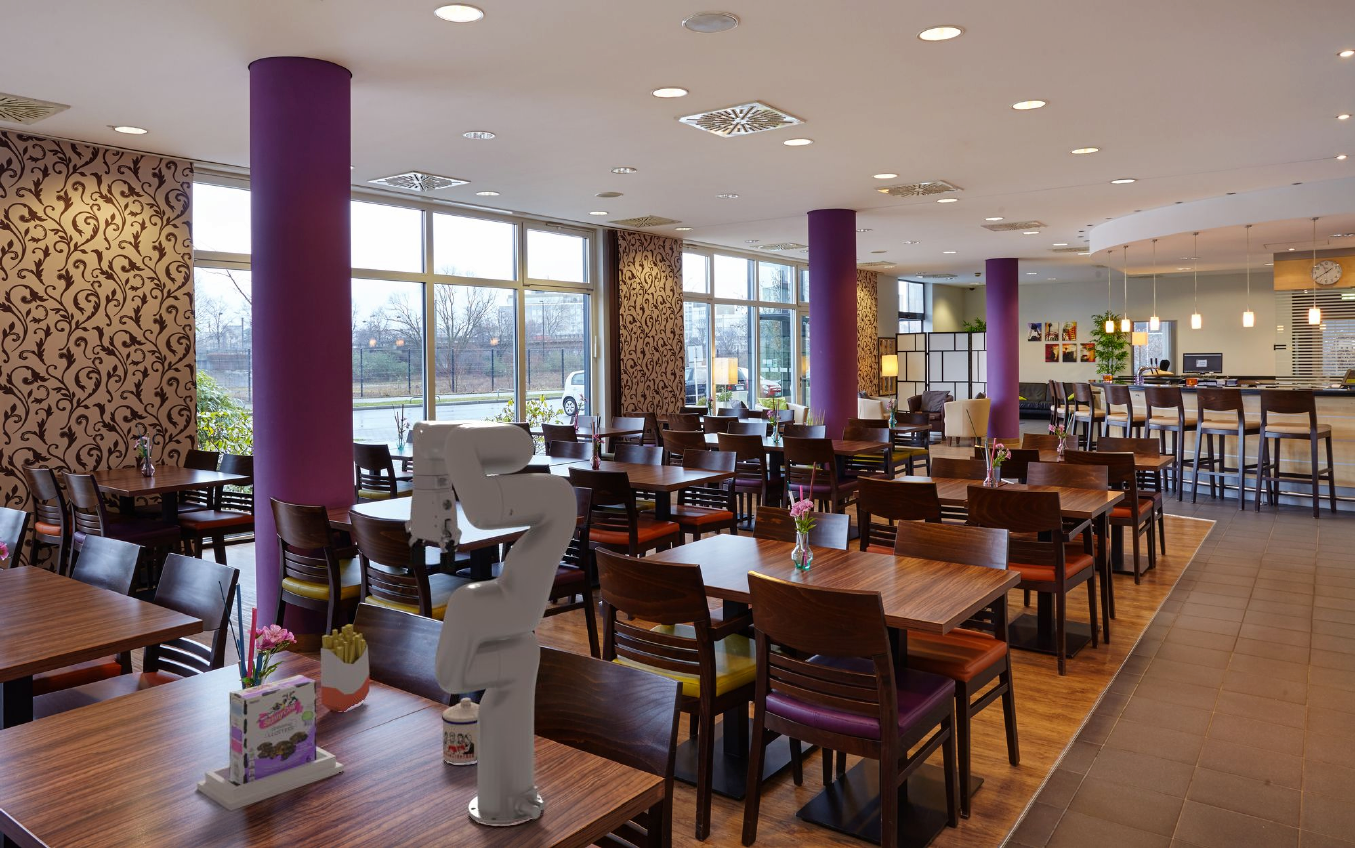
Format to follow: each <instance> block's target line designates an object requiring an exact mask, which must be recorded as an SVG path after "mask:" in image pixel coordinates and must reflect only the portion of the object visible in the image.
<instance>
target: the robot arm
mask: <svg viewBox="0 0 1355 848" xmlns="http://www.w3.org/2000/svg"><path fill="white" fill-rule="evenodd" d="M534 445H535V444H534V441H533V438H532V436H531V435H530V434H529V433H528V431H527V430H525V429H524V428H522V427H521V426H518V425H516V424H512V423H506V422H497V421H489V420H421V421H420V420H419V421H417V422H415V423H414V424H413V427H412V495H411V501H410V502H411V503H410V518H409V520H407V521H406V522H405V523H404V526H405V532H406V538H407V539H408V545H409V547H410V567H412V568H413V567H414V568H415V567H419V566H424V565H426V562H427V561H426V560H427V556H426V555H427V554H426V553H427V550H426V547H427V546H426V545H425V542H426V541H429V542H434V543H437V544H438V546H439V548H440V549H441V552H439V572H440V573H441V574H447V573H452V572H455V571H456V552H457V551H458V547H459V545H460V541H461V537H462V534H463V532H462V531H463V530H461V529H460V528H459V525H458V509H457V508H458V507H457V502H456V495H457V498H458V500H459V503H460V506H461V508H462V509H461V510H462V511H463V514H464V515H465V517H466V520H467V521H468V522H469V524H470V525H471V526H472V527H474V528H475V529H479V530H480V531H481V530H482V531H494V530H506V529H513V528H514V529H516V528H524V527H529V529H528V530H527V531H526V532H524V534H522V536H520V537H519V538H518V539H517V540H516V541H515V543H514V544H513V545H512V546H511V548H510V549H509V550H508V552H507V553H506V556H505V558H504V561H503V566H502V570H501V573H500V575H499V576H498V577H496V578H494V579H491V580H485V581H484V580H483V581H477V582H476V581H475V582H470V583H465V584H463V585H461V586H459V587H457V588H456V589H455V590H454V591H453V593H452V594H451V595H450V597H449V599H448V602H447V605H446V608H445V612H444V616H443V621H442V626H441V631H440V634H439V639H438V641H437V642H438V643H437V647H436V652H435V658H434V674H435V679H436V683H437V684H438V685H439V687H440V689H442V691H444V692H445V693H447V694H452V695H461V694H467V693H472V692H479V691H483V690H485V691H484V693H483V694H482V697H481V700H480V701H479V704H478V705H479V708H478V716H477V764H476V765H477V771H476V772H477V774H476V775H477V777H476V779H477V781H476V783H477V784H476V785H477V789H476V790H477V793H476V797H474V798H473V799H472V800H471V801H470V802H469V804H468V807H467V812H468V813H469V815H470V816H471V818H473V819H474V820H478V821H479V822H484V823H486V824H511V823H514V822H519V821H522V820H526V819H528V818H533V819H532V820H536V819H538V818H539V817H540V815H541V813H542V811H543V810H545V808H546V807H547V802H546V801H544V800H543V798H542V797H541V795H540V794H538V786H535V694H536V683H537V678H538V671H539V666H540V659H541V647H540V643H539V639H538V638H537V636H536V634H535V632H533V631H535V630H537V628H538V627H539V625H540V624H541V622H542V620H543V618H544V614H545V612H546V610H547V609H546V608H547V605H548V602H549V599H550V596H551V592H552V587H553V584H554V581H555V579H556V575H557V574H556V573H557V571H558V568H559V566H560V564H561V561H562V560H563V557H564V555H565V554H566V553H567V552H566V551H567V549H568V548H569V546H570V544H571V541H572V539H573V536H574V533H575V530H576V526H577V519H578V500H577V496H576V493H575V490H574V488H573V485H572V484H571V483H570V481H569V480H567V479H566V478H564V477H563V476H561V475H557V474H553V473H543V472H542V473H541V472H538V473H537V472H533V473H531V472H530V473H517V472H519V471H522V470H523V469H524V468H525V467H527V465H529V463H530V462H531V461H532V459H533V456H534V452H535V446H534ZM512 473H515V474H512ZM453 488H454V490H455V492H454V490H453ZM455 493H456V495H455ZM446 543H447V544H446ZM541 810H542V811H541ZM468 813H467V814H468ZM469 815H468V816H469ZM471 818H470V819H471Z"/></svg>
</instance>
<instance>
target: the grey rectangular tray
mask: <svg viewBox="0 0 1355 848" xmlns="http://www.w3.org/2000/svg"><path fill="white" fill-rule="evenodd" d="M336 758H337V755H335V754H332V753H330V752H329V751H326V750H325V749H322V748H320V747H318V746H317V745H316V760H315V761H312V762H309V763H306V764H303V765H300V766H297V767H294V768H291V769H288V770H285V771H282V772H279V773H276V774H273V775H270V776H267V777H264V778H261V779H258V780H255V781H252V782H249V783H246V784H242V785H239V786H238V785H237V784H235V783H233V782H232V781H230V764H228V765H225V766H222V767H218V768H216V769H211V770H209V771H206V772H204V773H205V774H204V777H205V778H204V779H203V780H200V781H198V782H196V790H198V791H199V792H200V793H202V794H204V795H206V796H207V797H209V798H210V799H211V800H213V801H215V802H216V803H217V804H218V805H221V806H222V807H223V808H225V809H227V810H228V811H230V812H232V811H234V810H239V809H240V808H243V807H246V806H249V805H252V804H254V803H257V802H260V801H263V800H267V799H269V798H272V797H274V796H277V795H280V794H283V793H286V792H289V791H292V790H295V789H297V788H300V787H303V786H305V785H309V784H312V783H315V782H319V781H320V780H323V779H326V778H330V777H332V776H334V775H337V774H340V773H339V772H341V773H343V772H342V771H344V770H345V769H344V768H345V767H344V764H342V763H340V762H338V761H337V759H336Z"/></svg>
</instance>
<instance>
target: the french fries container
mask: <svg viewBox="0 0 1355 848" xmlns="http://www.w3.org/2000/svg"><path fill="white" fill-rule="evenodd" d="M331 632H332V635H328V634H324V635H322V636H321V638H322V639H321V640H322V647H321V648H320V675H321V676H320V683H321V684H320V687H321V688H320V693H321V694H320V695H321V697H320V698H321V702H320V703H321V705H322V706H324V707H325V708H326V709H327V710H329V711H330V710H334V711H333V712H335V711H342V712H344V711H346V710H347V709H348V708H350V707H351V706H354V705H355V704H358V703H359V702H361V701H362V700H364V701H365V699H366V697H367V696H368V695H369V692H370V663H369V662H370V661H369V646H368V644H367V642H366V640H365V639H364V638H363V633H358V632H354V624H350V623H348V624H346V625H345V626H342V627H341V632H340V633H339V632H338V629H336V628H335V629H332V631H331Z"/></svg>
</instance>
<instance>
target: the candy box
mask: <svg viewBox="0 0 1355 848" xmlns="http://www.w3.org/2000/svg"><path fill="white" fill-rule="evenodd" d="M316 683H317V682H316V680H315V679H312V678H310V677H307V676H305V675H302V674H297V675H295V676H292V677H288V678H283V679H280V680H276V681H273V682H268V683H264V684H260V685H256V686H252V687H248V688H243V689H239V690H234V691H229V765H230V781H232V782H233V783H235V784H237V785H238V786H239V785H242V784H246V783H249V782H252V781H255V780H258V779H261V778H264V777H267V776H270V775H273V774H276V773H279V772H282V771H285V770H288V769H291V768H294V767H297V766H300V765H303V764H306V763H309V762H312V761H315V760H316V746H317V687H316V686H317V684H316Z"/></svg>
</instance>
